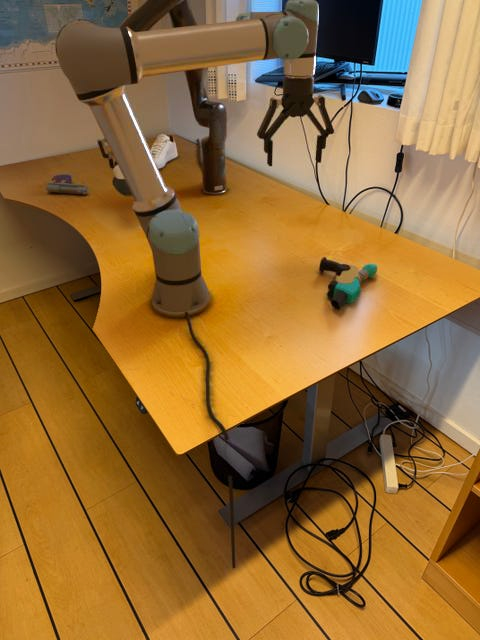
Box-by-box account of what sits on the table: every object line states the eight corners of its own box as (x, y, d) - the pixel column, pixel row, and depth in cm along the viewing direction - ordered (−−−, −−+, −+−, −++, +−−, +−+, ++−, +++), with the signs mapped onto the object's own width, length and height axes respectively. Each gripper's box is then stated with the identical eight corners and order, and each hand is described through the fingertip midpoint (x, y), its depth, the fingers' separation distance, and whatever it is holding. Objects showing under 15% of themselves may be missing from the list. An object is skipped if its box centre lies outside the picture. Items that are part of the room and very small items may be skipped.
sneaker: (133, 173, 208) (129, 144, 201) (161, 153, 230) (158, 127, 223) (155, 175, 205) (151, 146, 198) (180, 155, 227) (178, 129, 220)
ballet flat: (116, 199, 155) (112, 173, 150) (108, 176, 173) (104, 153, 169) (141, 196, 157) (138, 171, 152) (131, 174, 176) (128, 151, 171)
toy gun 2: (296, 289, 121) (353, 304, 115) (329, 248, 140) (380, 259, 134) (295, 304, 124) (351, 319, 118) (328, 261, 142) (377, 273, 136)
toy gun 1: (101, 183, 198) (84, 197, 186) (60, 181, 201) (41, 194, 189) (99, 174, 195) (82, 188, 184) (58, 172, 199) (39, 185, 187)
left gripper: (341, 71, 121) (333, 155, 133) (245, 75, 117) (246, 161, 130) (352, 76, 115) (342, 164, 127) (252, 80, 111) (251, 170, 124)
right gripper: (133, 113, 164) (140, 162, 174) (91, 117, 161) (100, 167, 171) (137, 118, 158) (143, 168, 168) (93, 122, 155) (102, 173, 165)
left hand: (294, 163), depth 129 cm, fingers open, 13 cm apart
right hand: (122, 167), depth 169 cm, fingers closed on ballet flat, 5 cm apart
